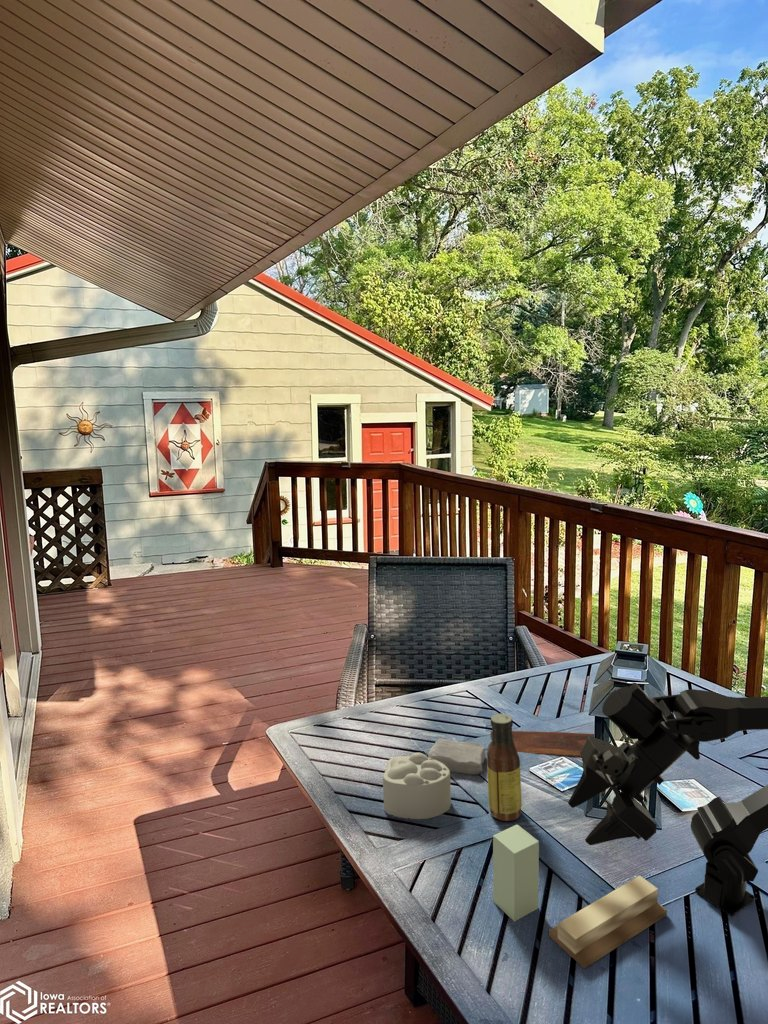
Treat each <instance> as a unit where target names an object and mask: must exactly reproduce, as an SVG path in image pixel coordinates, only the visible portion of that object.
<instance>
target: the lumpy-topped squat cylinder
mask: <svg viewBox="0 0 768 1024" xmlns="http://www.w3.org/2000/svg"><path fill="white" fill-rule="evenodd" d="M382 787H383V789H382V790H383V810H384V809H385V810H384V812H385V811H386V812H388V813H389V814H392V815H394V816H393V817H395V816H399V817H398V818H401V817H402V818H403V819H408V818H410V820H411V819H412V820H428V819H431V818H435V817H439V816H441V815H443V814H444V813H446V812H448V810H450V809H451V807H452V794H451V793H452V792H451V789H452V788H451V772H450V771H449V769H448V768H447V767H446V766H445V765H444V764H443V763H441V762H439V761H437V760H434V759H432V758H428V756H427V755H425V754H424V753H422V752H414V753H412V754H411V755H397V756H394V757H391V758H390V759H388V760H387V762H386V770H385V771H384V773H383V775H382ZM386 812H385V813H386ZM389 814H388V815H389ZM402 818H401V819H402Z"/></svg>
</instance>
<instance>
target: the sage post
mask: <svg viewBox="0 0 768 1024" xmlns="http://www.w3.org/2000/svg"><path fill="white" fill-rule="evenodd" d="M539 849H540V841H539V840H538V839H536V838H535V837H534V836H532V835H531V834H530V833H529V832H528V831H526V830H525V829H524V828H522V827H521V826H520V825H519V824H515V825H512V826H511V827H508V828H506V829H504V830H502V831H500V832H498V833H496V834H494V835H492V854H493V855H492V869H493V871H492V872H493V874H492V878H493V879H492V881H493V882H492V883H493V885H492V887H493V892H492V893H493V896H492V897H493V900H492V901H493V903H494V904H495V905H496V906H497V907H499V909H501V910H502V911H503V912H504V913H505V914H506V916H508V917H509V919H511V920H512V921H513V922H516V921H517V920H519V919H521V918H523V917H525V916H527V915H529V914H531V913H532V912H534V911H536V910H538V909H539V876H540V875H539V868H540V867H539V863H540V862H539V858H540V850H539Z"/></svg>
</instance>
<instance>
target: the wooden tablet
mask: <svg viewBox="0 0 768 1024" xmlns="http://www.w3.org/2000/svg"><path fill="white" fill-rule="evenodd" d="M594 734H595V733H584V732H583V733H582V732H565V731H564V732H563V731H562V732H561V731H536V730H535V731H534V730H531V731H527V730H524V731H523V730H512V737H513V741H514V744H515V747H516V750H517V753H526V754H534V755H535V754H536V755H538V754H539V755H551V756H552V755H553V756H561V757H562V756H563V757H565V756H566V757H575V758H576V757H578V758H582V756H581V755H580V752H581V750H582V748H583V746H584V744H585V742H586V740H587V738H588V736H592V737H594ZM489 735H490V739H491V741H492V731H490V734H489Z"/></svg>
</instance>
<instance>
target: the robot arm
mask: <svg viewBox="0 0 768 1024" xmlns="http://www.w3.org/2000/svg"><path fill="white" fill-rule="evenodd" d="M601 712H602V714H603V715H604V716H605V717H607V718H608V720H610V722H612V723H613V724H614V725H615V726H616V727H618V728H619V730H621V732H623V733H624V734H625V735H626V736H627V737H628V738H629V739H631V740H636V741H635V742H633V744H630V743H629V742H628V741H625V742H622V743H621V744H620V745H619V746H616V745H615V744H614V745H613V744H612V743H610V742H605V741H603V740H600V739H597V738H595V737H592V736H588V738H587V740H586V742H585V744H584V746H583V748H582V750H581V752H580V755H581V756H582V757H581V761H582V769H583V770H582V774H581V776H580V778H579V780H578V783H577V785H576V786H575V788H574V790H573V792H572V794H571V796H570V798H569V800H568V802H567V803H568V806H570V807H571V808H572V809H573V808H576V807H578V806H580V805H583V804H584V803H586V802H588V801H589V800H591V799H592V798H594V797H596V796H598V795H599V794H601V793H603V792H604V791H606V790H609V789H610V788H611V790H612V791H613V793H614V795H615V796H614V798H613V799H612V802H611V804H610V803H609V802H607V803H606V815H605V816H604V817H603V818H602V819H601V820H600V821H599V822H598V823H597V824H596V826H594V828H593V829H592V830H591V831H590V832H589V834H588V835H587V836H586V837H585V838H584V839H585V842H586V843H587V845H589V846H593V845H598V844H603V843H606V842H610V841H615V840H620V839H626V838H634V837H635V838H636V839H637V840H640V839H641V838H642V839H643V840H644V841H645V842H647V841H649V840H650V839H651V838H652V837H653V836H654V835H656V833H657V823H656V821H655V819H654V818H653V817H652V815H651V813H650V812H649V810H648V809H647V808H646V807H644V806H643V805H642V804H641V803H642V802H643V801H644V800H645V797H644V795H643V792H644V791H645V790H646V789H647V788H649V786H651V785H652V784H653V783H654V782H655V783H656V784H658V785H659V786H661V785H662V783H664V781H665V780H664V779H663V777H662V776H661V775H662V774H664V773H665V771H667V770H668V769H669V768H670V767H672V765H673V764H675V762H677V760H678V759H680V758H681V757H682V756H683V755H684V754H685V753H686V752H687V753H688V754H689V755H691V757H692V758H693V759H695V760H696V761H697V760H700V758H701V755H700V743H707V742H713V741H719V740H724V739H728V738H730V737H731V736H733V735H735V734H736V733H739V732H742V731H757V730H758V731H759V730H761V731H762V730H763V731H764V730H768V696H750V697H748V696H747V697H735V696H728V695H724V694H723V693H722V694H721V693H718V692H715V691H709V690H704V689H703V690H702V689H696V688H695V689H693V688H692V689H691V688H690V689H684V690H682V691H680V693H677V694H671V695H663V696H655V697H650V696H649V695H647V693H646V692H644V690H643V688H642V687H640V686H639V685H638V684H637V682H633V683H632V684H631V685H629V686H623V687H621V688H618V689H615V690H613V691H611V692H610V694H609V695H608V696H607V697H606V699H605V700H604V703H603V705H602V711H601ZM696 810H697V812H696V813H694V814H693V815H692V817H691V821H690V830H691V833H692V834H693V836H694V838H695V840H696V842H697V844H698V846H699V848H700V849H701V852H702V854H703V856H704V858H705V859H706V862H705V870H704V871H705V873H704V880H703V881H704V882H702V883H701V884H700V885H698V886H696V887H695V888H694V890H695V892H696V894H698V895H699V896H701V898H703V899H705V900H706V901H708V902H709V903H710V904H712V905H713V906H715V907H716V908H718V909H719V910H721V911H722V912H724V913H726V914H727V915H728V916H731V917H733V916H735V915H736V914H738V913H739V912H740V911H742V910H744V909H746V907H748V906H749V905H751V904H752V903H753V902H755V900H756V897H755V895H753V894H752V893H750V892H749V891H747V882H754V880H755V878H756V877H757V875H758V874H759V869H758V868H757V865H756V864H755V862H754V861H753V860H752V857H751V856H750V853H751V852H752V850H753V849H754V847H755V844H756V843H757V841H758V838H759V837H760V834H762V833H763V832H765V831H766V830H768V784H766V785H764V786H763V787H761V788H760V789H758V790H756V791H754V792H753V793H751V794H750V795H748V796H747V797H745V798H743V799H742V800H740V801H737V802H725V801H723V800H722V798H721V796H717V797H715V798H713V799H712V800H710V801H709V802H708V803H706V804H705V805H703V806H697V808H696Z"/></svg>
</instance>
